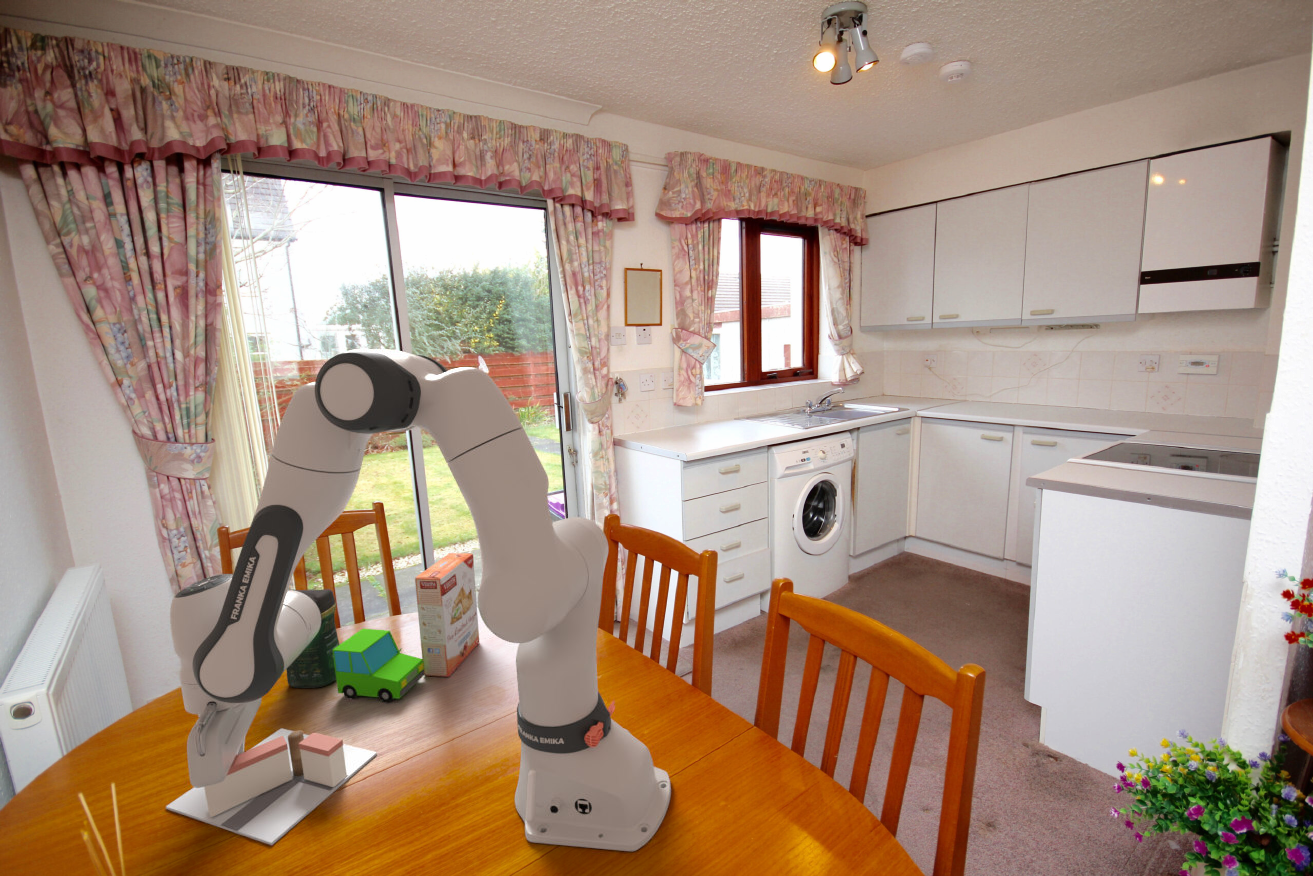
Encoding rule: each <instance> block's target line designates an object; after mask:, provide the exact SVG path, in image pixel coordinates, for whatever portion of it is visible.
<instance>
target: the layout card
mask: <svg viewBox="0 0 1313 876" xmlns="http://www.w3.org/2000/svg"><path fill="white" fill-rule="evenodd" d="M292 732H295V730H290V729H286V728H284V727H283V728H282V727H281V728H280V729H278V730H276V731H275V732H274V733H272V734H270V735H269V736H268V737H266V738H264V739H263V740H262V741H261V742H259V743H258V744H256V745H254V746H253V747H252V748H255V747H257V746H259V745H262V744H264V743H267V742H269V741H271V740H274V739H276V738H278V737H281V736H283V737H284V739H285V741H286V743H287V747H288V754H289V761H290V767H291V774H292V780H290V781H288V782H285V783H283V784H281V785H279V786H277V787H275V788H273V789H271V790H268V791H266V792H264V793H262V794H260V795H258V796H256V797H254V798H251V799H249V800H247V801H245V802H243V803H241V804H239V805H237V806H234V807H232V808H230V809H228V810H226V811H224V812H222V813H220V814H217V815H215V816H213V817H211V818H210V815H209V811H208V807H207V801H206V795H205V790H204V787H201V788H195V787H194V786H193V787H192V788H191V789H190V790H188V791H186V792H184V793H183V794H182V795H180V796H179V797H178V798H176V799H175V800H173V801H171V802H170V803H169V804H167V805H166V806H165V809H166V810H168V811H171V812H173V813H177V814H179V815H184V816H186V817H189V818H191V819H194V820H197V821H201V822H204V823H206V824H209V825H212V826H215V827H218V828H221V829H224V830H227V831H228V832H229V831H230V832H232V833H235V834H237V835H240V836H244V837H247V838H249V839H252V840H255V841H259V842H261V843H263V844H267V845H269V846H273V845H274V844H275V843H276V842H278V841H279V840H281V838H282V837H284V836H285V835H286V834H287V833H288V832H289V831H290V830H292V829H293V828H294V827H295V826H296V825H297V824H298V823H299V822H301V821H302V820H303V819H304V818H305V817H306V816H308V815H309V814H310V813H311V812H312V811H313V810H315V809H316V808H317V807H318V806H319V805H320V804H322V803H323V802H324V801H325V800H327V798H328V797H330V796H331V795H332V794H333V793H334V792H336V791H337V790H338V789H339V788H340V787H341V786H342V785H344V784H345V783H347V781H348V780H349V779H351V778H352V777H353V776H354V775H355V774H356V773H358V772H359V771H360V770H361V769H362V768H363V767H364V766H366V764H369V762H370V761H372V760H373V759H374V758H375V757H376V756H377V755H378V752H376V751H374V750H369V749H364V748H362V747H356V746H354V745H349V744H345V743H343V751H344V758H345V766H346V773H347V776H346V777H345V778H344V779H343V780H342V781H340V782H339V783H338V784H337V785H336V786H335V787H330V786H327V785H324V784H320V783H317V782H313V781H310V780H306V779H304V774H303V775H301V776H294V775H293V769H292V762H291V756H290V749H289V743H288V735H289V734H291V733H292ZM309 735H310V734H305V733H303V736H304V739H305V738H307V737H308V736H309ZM252 748H250V749H252Z"/></svg>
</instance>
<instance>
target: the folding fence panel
mask: <svg viewBox="0 0 1313 876" xmlns="http://www.w3.org/2000/svg"><path fill="white" fill-rule="evenodd" d="M290 780H292V774H291V767H290V761H289V754H288V747H287V743H286V741H285V739H284V737H283V736H281V737H278V738H276V739H274V740H271V741H269V742H267V743H264V744H262V745H259V746H257V747H255V748H253V747H252V749H251V748H250V749H248V750H246V751H245V750H244V752H243V753H240V754H238V755H236V757H235V759H234V761H233V763H232V765H231V767H230V769H229V771H228V773H227V776H226V778H225V779H224V780H223V781H222V782H220V783H217V784H213V785H209V786H205V787H204V790H205V795H206V801H207V807H208V811H209V815H210V818H211V817H213V816H215V815H217V814H220V813H222V812H224V811H226V810H228V809H230V808H232V807H234V806H237V805H239V804H241V803H243V802H245V801H247V800H249V799H251V798H254V797H256V796H258V795H260V794H262V793H264V792H266V791H268V790H271V789H273V788H275V787H277V786H279V785H281V784H283V783H285V782H288V781H290Z"/></svg>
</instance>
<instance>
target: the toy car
mask: <svg viewBox="0 0 1313 876" xmlns="http://www.w3.org/2000/svg"><path fill="white" fill-rule="evenodd" d="M339 644H340V645H338V646H337V647H336V648H334V649H333V658H334V665H335V673H336V680H335V681H336V686H337V693H338V694H343V696H345V698H347V699H348V700H355V699H356V698H357V697H358V696H363V697H373V698H378V699H379V700H380V701H381V702H382V703H385V704H389V703H391V702H392V701H394V700H395V699H401V698H402V697H403V696H404V695H405V694H406V693H407V692H408V691H409V690H410V689H411V688H412V687H414V686H415V685H416V684H417V683H418V682H419V681H420V680H421V679H422V678H423V677H424V676H425V675H424V665H423V659H422V658H420V657H416V656H412V655H408V654H406V653H405V654H404V653H401V651H402V647H401V648H400V649H399V648H398V646H397V644H396V641H395V639H394V637H393V635H392V632H391V631H390V630H384V629H374V628H373V629H372V628H362V629H360V630H359V631H357V632H356V633H354V634H353V635H351V636H350V637H349V638H347V639H346V640H344V641H343V642H341V643H339Z"/></svg>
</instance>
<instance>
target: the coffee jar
mask: <svg viewBox="0 0 1313 876" xmlns="http://www.w3.org/2000/svg"><path fill="white" fill-rule="evenodd" d="M296 590H297V591H300V592H303V593H305V594H307V595H308V596H310V597H311V598H312V599H313V600H314V601H315V602H316V604H317V605H318V607H319V609H320V612H321V616H322V624H321V628H320V630H319V632H318V634H317V635H316V636H315V637H314V639H313V640H312V641H311V642H310V644H309V645H308V646H307V647H306V648H305V649H304V650H303V651H302V653H301V654H300V655H299V656H298V657H297V658H296V659H295V660H294V661H293V662H292V664H291V665H290V666H289V667H288V668H287V669H286V670H285V671H286V679H287V684H288V686H290V687H291V688H296V689H297V688H299V689H310V688H312V689H314V688H315V689H316V688H323V687H325V686H327V685H330V684H331V683H333V682H335V681H337V680H336V673H335V665H334V658H333V649H334V648H336V647H337V646H338V645H340V644H341V643H340V641H339V638H338V632H337V627H336V622H335V621H336V620H335V613H336V610H337V602H336V598H335V596H334V592H333V590H331V589H330V588H324V589H299V590H298V589H296Z"/></svg>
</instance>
